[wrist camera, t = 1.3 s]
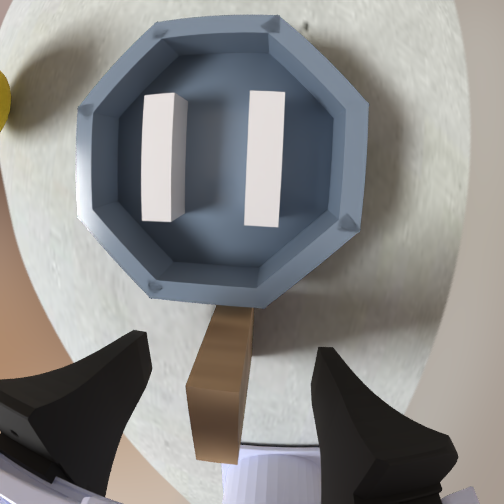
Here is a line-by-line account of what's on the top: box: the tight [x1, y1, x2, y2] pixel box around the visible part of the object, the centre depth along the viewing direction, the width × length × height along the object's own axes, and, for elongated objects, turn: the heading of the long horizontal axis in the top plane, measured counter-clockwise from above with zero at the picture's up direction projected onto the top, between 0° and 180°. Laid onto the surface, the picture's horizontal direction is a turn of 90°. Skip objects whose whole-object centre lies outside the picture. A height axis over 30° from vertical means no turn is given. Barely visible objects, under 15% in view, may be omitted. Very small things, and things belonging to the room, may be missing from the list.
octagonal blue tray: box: [76, 15, 369, 309], centre depth 11 cm, size 11×11×3 cm
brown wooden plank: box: [186, 305, 254, 465], centre depth 11 cm, size 4×2×7 cm, turn 177°
